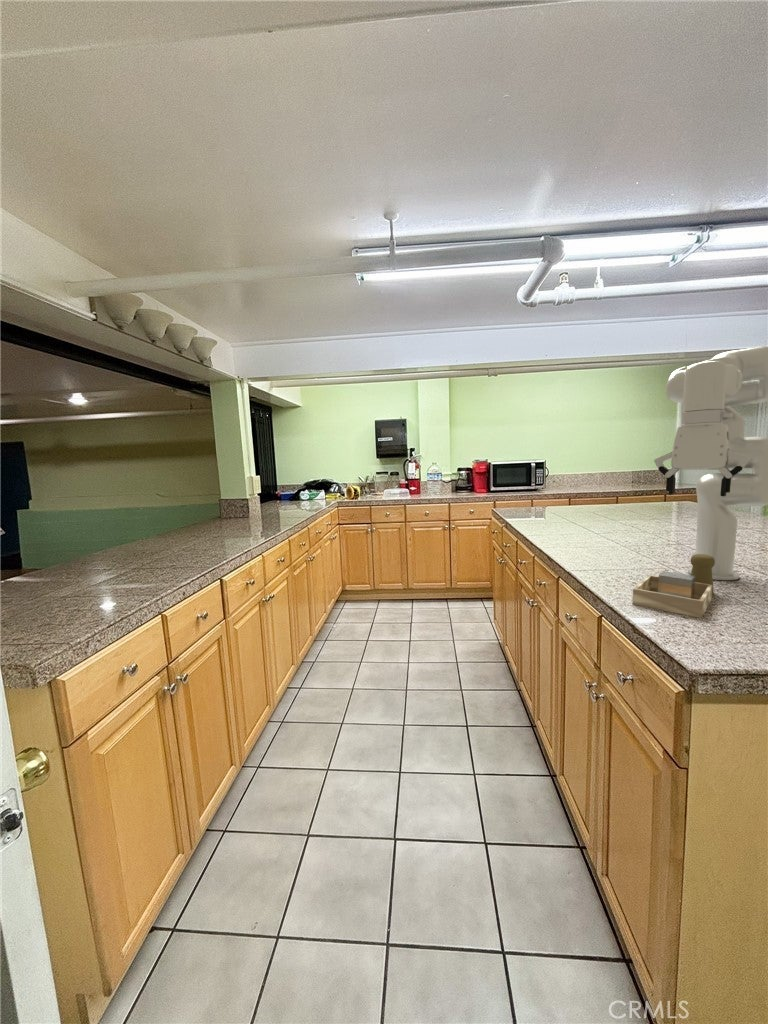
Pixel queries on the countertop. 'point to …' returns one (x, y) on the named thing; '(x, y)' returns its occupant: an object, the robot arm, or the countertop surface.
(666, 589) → the tin
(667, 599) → the tray
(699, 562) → the cork
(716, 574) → the robot arm
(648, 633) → the countertop surface
